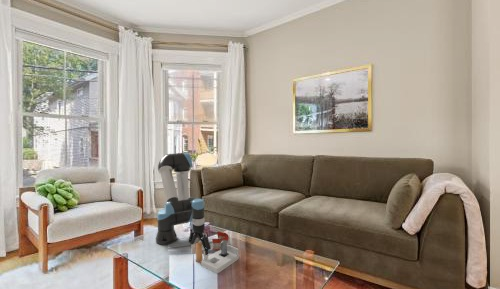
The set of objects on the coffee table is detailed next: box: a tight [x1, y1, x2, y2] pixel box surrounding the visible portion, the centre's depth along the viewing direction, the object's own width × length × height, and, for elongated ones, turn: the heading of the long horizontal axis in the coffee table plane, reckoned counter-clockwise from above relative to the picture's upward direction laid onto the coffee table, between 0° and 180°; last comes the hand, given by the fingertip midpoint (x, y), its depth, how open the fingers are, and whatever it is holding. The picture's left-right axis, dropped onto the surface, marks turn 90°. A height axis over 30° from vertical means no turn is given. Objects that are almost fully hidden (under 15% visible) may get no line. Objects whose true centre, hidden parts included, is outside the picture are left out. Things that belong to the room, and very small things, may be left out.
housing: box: [200, 243, 240, 274], centre depth 169 cm, size 14×20×7 cm
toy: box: [211, 231, 230, 251], centre depth 189 cm, size 12×10×8 cm
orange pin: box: [195, 241, 204, 263], centre depth 170 cm, size 4×4×12 cm
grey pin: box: [221, 240, 227, 257], centre depth 173 cm, size 4×4×12 cm
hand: (199, 256), depth 171 cm, fingers open, 11 cm apart
